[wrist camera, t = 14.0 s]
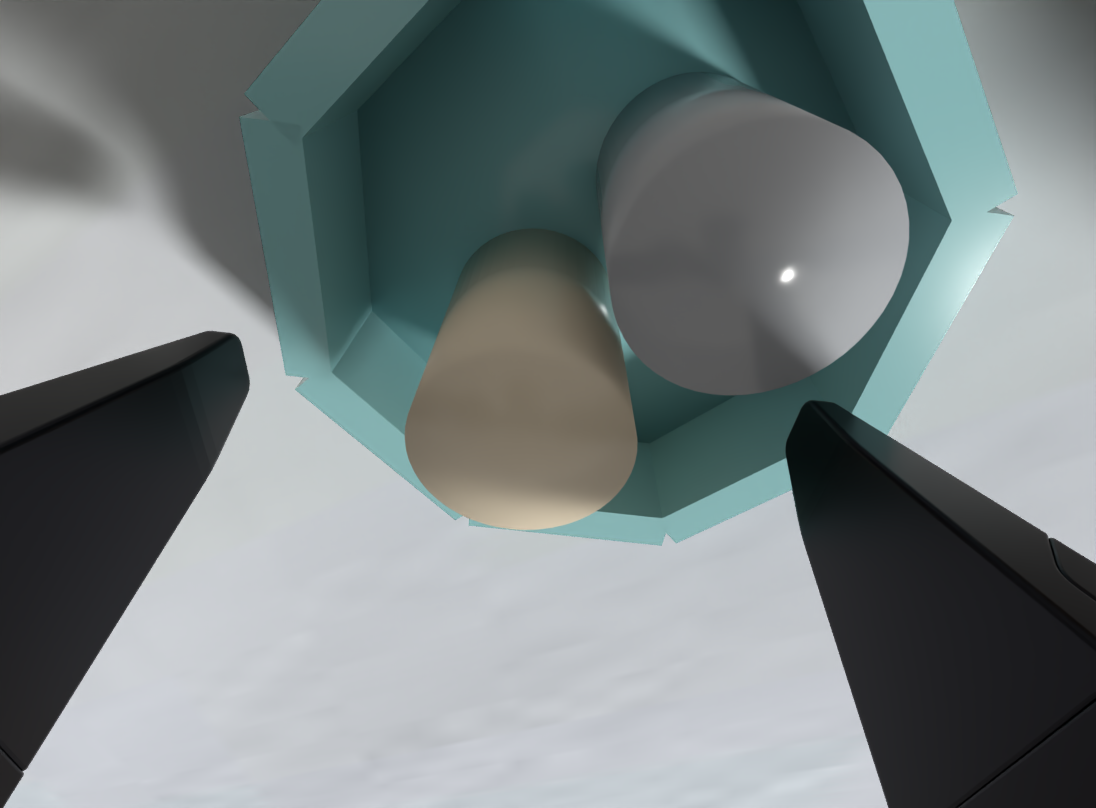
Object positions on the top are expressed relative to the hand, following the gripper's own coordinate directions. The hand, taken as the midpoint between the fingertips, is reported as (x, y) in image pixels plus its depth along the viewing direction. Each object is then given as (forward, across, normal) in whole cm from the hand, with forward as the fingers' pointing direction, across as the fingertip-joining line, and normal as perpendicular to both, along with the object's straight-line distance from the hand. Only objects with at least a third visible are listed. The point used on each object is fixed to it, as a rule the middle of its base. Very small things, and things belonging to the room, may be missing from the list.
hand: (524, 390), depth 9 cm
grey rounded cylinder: (+3, -2, -3) cm, 5 cm away
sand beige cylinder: (+3, 0, 0) cm, 3 cm away
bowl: (+4, -1, -1) cm, 4 cm away
